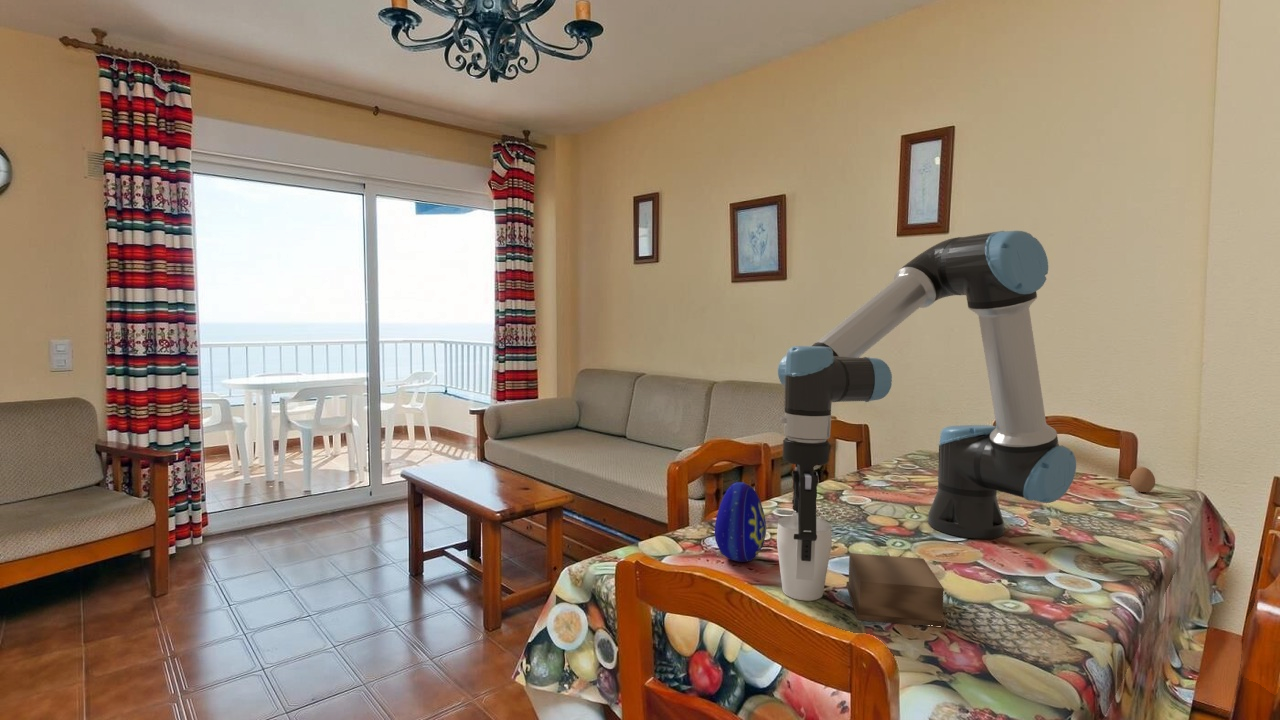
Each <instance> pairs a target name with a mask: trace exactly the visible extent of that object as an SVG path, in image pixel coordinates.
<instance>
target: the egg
mask: <svg viewBox="0 0 1280 720" xmlns="http://www.w3.org/2000/svg"><path fill="white" fill-rule="evenodd" d="M1129 483H1130V486H1131V487H1132V488H1133V490H1135V491H1136V492H1138V491H1140V492H1146V493H1149V492H1151V491H1152V490H1153V489H1154V488H1155V486H1156V477H1155V475H1154V474H1153V472H1152V471H1151V470H1150V469H1149V468H1147V467H1145V466H1140V467H1137V468H1135V469H1134V470H1132V473H1131V474H1130V477H1129ZM1140 492H1139V493H1140Z"/></svg>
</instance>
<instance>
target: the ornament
mask: <svg viewBox="0 0 1280 720" xmlns="http://www.w3.org/2000/svg"><path fill="white" fill-rule="evenodd" d="M714 523H715V524H714V539H715V542H716V543H715V544H716V545H717V548H718V550H719V551H720V553H721V554H722V555H723V556H725V557H726V558H727V559H729V560H731V561H734V562H738V563H739V562H741V563H742V562H743V563H745V562H751V561H753V559H755V558H756V557H757V556H758V555H759V553H760V551H761V550H762V548H763V546H764V543H765V540H766V539H765V538H766V535H767V521H766V517H765V512H764V509H763V505H762V502H761V499H760V498H759V496H758V493H757V492H756V490H755V488H753V487H752V486H751V485H749V484H748V483H746V482H742V481H739V482H738V481H737V482H734V483H732V484H731V485H730V486H729V487H728V488H727V490H726V491H725V493H724V495H723V497H722V499H721V501H720V504H719V507H718V511H717V515H716V519H715V522H714Z"/></svg>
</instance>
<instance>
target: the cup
mask: <svg viewBox="0 0 1280 720" xmlns="http://www.w3.org/2000/svg"><path fill="white" fill-rule="evenodd" d="M803 532H811V531H806V530H804V531H803ZM798 533H799V532H798V515H793V514H792V515H786V516H783V517H780V518H779V519H778V520H777V531H776V546H777V555H778V563H779V571H780V579H781V581H780V582H781V588H782V592H783V593H784V594H785V595H786V596H787V597H789V598H791V599H794V600H797V601H805V602H812V601H817V600H819V599H821V598H823V595H824V591H825V585H826V579H827V573H828V567H829V562H830V561H829V560H830V557H831V551H832V544H833V543H832V525H831V523H830V522H828V521H827V520H825V519H824V518H823V519H822V518H820V517H816V535H817V540H816V541H815V558H814V581H813V580H802V579H796V556H797V539H794V534H798Z"/></svg>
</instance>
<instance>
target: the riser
mask: <svg viewBox="0 0 1280 720" xmlns="http://www.w3.org/2000/svg"><path fill="white" fill-rule="evenodd" d="M848 555H849V556H848V557H849V558H848V559H849V560H848V561H849V562H848V581H846V588H847V592H848V595H849V598H850V602H851V605H852V606H853V607H852V608H853V610H854V613H855V618H856V620H857V621H866V622H867V621H868V622H876V623H887V624H897V625H898V624H900V625H907V626H908V625H910V626H919V625H930V626H931V625H933V626H941V627H945V628H946V622H945V620H944V619H943V612H944V611H943V610H944V590H945V589H944V587H943V585H942V584H941V582H940V581H939V579H938V577H937V576H936V574H935V573H934V572H933V570H932V569H931V568H930V566H929V565H928V563H927V562H926V560H925V559H924V558H921V557H909V556H908V557H905V556H897V555H896V556H895V555H893V556H892V555H880V554H879V555H878V554H865V553H853V552H849V554H848ZM930 626H929V627H930Z"/></svg>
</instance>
